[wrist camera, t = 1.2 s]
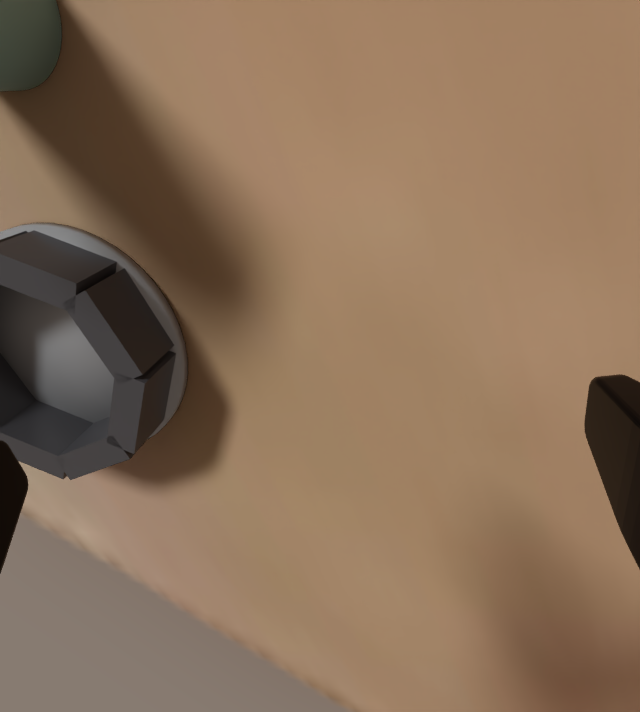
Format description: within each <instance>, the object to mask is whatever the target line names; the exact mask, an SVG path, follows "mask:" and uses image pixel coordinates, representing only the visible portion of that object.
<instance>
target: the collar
mask: <svg viewBox="0 0 640 712" xmlns="http://www.w3.org/2000/svg"><path fill="white" fill-rule="evenodd" d="M187 375H188V361H187V353H186V347H185V342H184V339H183V335H182V332H181V328H180V326H179V324H178V321H177V319H176V317H175V314H174V312H173V310H172V309H171V307H170V305H169V303H168V302H167V300H166V298H165V297H164V295H163V294H162V292H161V291H160V290H159V288H158V287H157V285H156V284H155V283H154V282H153V280H152V279H151V278H150V277H149V276H148V275H147V274H146V272H145V271H144V270H143V269H142V268H141V267H140V266H138V265H137V264H136V263H135V262H134V261H133V260H132V259H131V258H130V257H128V256H127V255H126V254H124V253H123V252H122V251H120V250H119V249H118V248H116V247H115V246H113V245H112V244H110V243H108V242H107V241H105V240H103V239H102V238H100V237H98V236H95V235H93V234H91V233H89V232H87V231H84V230H81V229H78V228H75V227H71V226H68V225H62V224H56V223H38V222H37V223H30V224H23V225H20V226H17V227H14V228H10V229H8V230H5V231H2V232H0V440H3V441H4V442H6V443H7V444H8V445H9V447H10V449H11V450H12V452H13V454H14V455H15V457H16V459H17V460H18V461H20V462H22V463H25V464H27V465H30V466H32V467H35V468H37V469H39V470H42V471H44V472H47V473H49V474H52V475H54V476H56V477H59V478H61V479H64V478H65V477H66V476H68V477H69V479H70V480H72V479H75V478H78V477H80V476H83V475H86V474H89V473H92V472H95V471H97V470H100V469H103V468H106V467H109V466H112V465H114V464H117V463H120V462H123V461H126V460H129V459H130V458H131V457H132V456H133V455H134V454H135V453H136V452H137V450H138V449H139V448H140V447H141V446H142V445H143V444H144V442H145V441H146V440H147V439H149V438H150V437H152V436H153V435H155V434H156V433H158V432H159V431H160V430H161V429H162V428H163V427H164V426H165V425H166V424H167V422H168V421H169V420H170V419H171V418H172V416H173V415H174V413H175V412H176V411H177V409H178V407H179V405H180V403H181V401H182V399H183V396H184V392H185V389H186V384H187Z"/></svg>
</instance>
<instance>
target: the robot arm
mask: <svg viewBox="0 0 640 712" xmlns="http://www.w3.org/2000/svg"><path fill="white" fill-rule="evenodd" d="M585 434H586V438H587V441H588V444H589V446H590V449H591V452H592V455H593V457H594V460H595V463H596V466H597V468H598V471H599V474H600V476H601V479H602V482H603V485H604V487H605V490H606V493H607V496H608V498H609V501H610V504H611V506H612V509H613V512H614V515H615V517H616V520H617V522H618V525H619V527H620V530H621V532H622V534H623V537H624V539H625V541H626V543H627V545H628V547H629V549H630V551H631V553H632V555H633V557H634V559H635V561H636V563H637V565H638V567H639V569H640V382H638V381H636V380H634V379H632V378H630V377H628V376H625V375H610V376H601V377H595V378H594V379H593V380H592V381H591V383H590V385H589V391H588V399H587V407H586V415H585ZM27 490H28V479H27V476H26V474H25V472H24V470H23V469H22V467H21V465H20V464H19V462H18V460H17V459H16V457H15V455H14V454H13V452H12V450H11V449H10V447H9V445H8V444H7V443H6V442H4V441H3V440H0V573H1V570H2V567H3V565H4V561H5V558H6V555H7V552H8V549H9V546H10V543H11V540H12V537H13V534H14V531H15V528H16V524H17V522H18V519H19V515H20V512H21V509H22V506H23V503H24V500H25V497H26V494H27Z"/></svg>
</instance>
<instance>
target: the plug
mask: <svg viewBox="0 0 640 712" xmlns="http://www.w3.org/2000/svg"><path fill="white" fill-rule="evenodd" d="M61 40H62V28H61V19H60V14H59V9H58V6H57V2H56V0H0V91H22V90H28V89H32V88H34V87H37V86H38V85H40V84H41V83H43V82H44V81H45V80H46V79H47V78H48V77H49V75H50V74H51V73H52V71H53V69H54V67H55V66H56V63H57V60H58V58H59V54H60V49H61Z"/></svg>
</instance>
